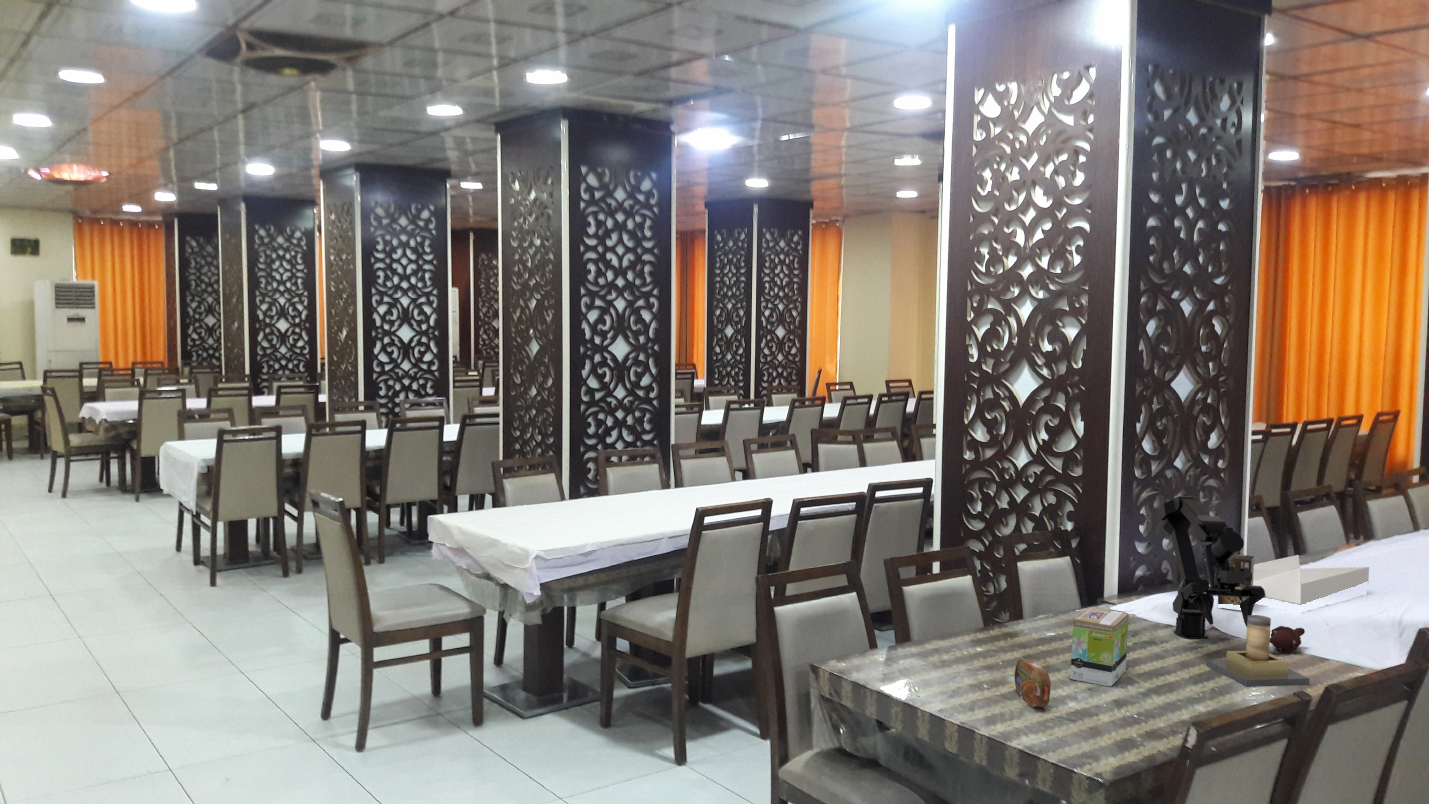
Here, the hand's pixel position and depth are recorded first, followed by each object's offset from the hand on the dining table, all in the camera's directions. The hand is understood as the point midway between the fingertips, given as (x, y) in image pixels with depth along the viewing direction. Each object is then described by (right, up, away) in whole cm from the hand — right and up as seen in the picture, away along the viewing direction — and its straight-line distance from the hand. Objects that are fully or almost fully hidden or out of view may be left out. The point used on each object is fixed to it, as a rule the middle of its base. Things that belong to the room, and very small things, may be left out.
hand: (1229, 625), depth 272 cm
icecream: (+19, -9, +11) cm, 24 cm away
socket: (+2, -10, -10) cm, 14 cm away
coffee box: (+28, -7, +56) cm, 62 cm away
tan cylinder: (+2, -8, -10) cm, 13 cm away
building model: (+56, -6, +73) cm, 92 cm away
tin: (-59, -11, -31) cm, 67 cm away
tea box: (-37, -10, -12) cm, 40 cm away
